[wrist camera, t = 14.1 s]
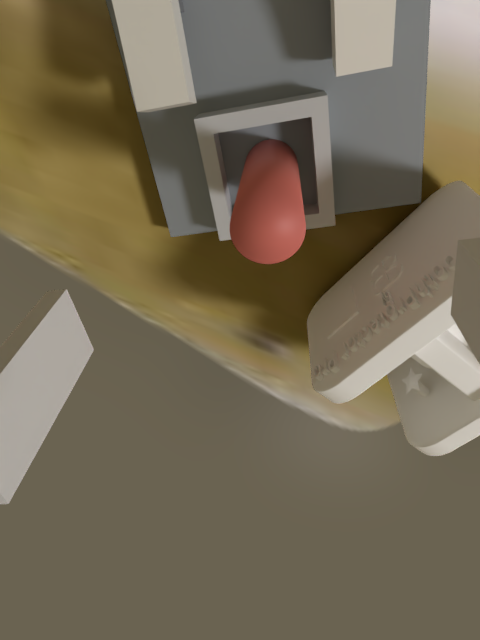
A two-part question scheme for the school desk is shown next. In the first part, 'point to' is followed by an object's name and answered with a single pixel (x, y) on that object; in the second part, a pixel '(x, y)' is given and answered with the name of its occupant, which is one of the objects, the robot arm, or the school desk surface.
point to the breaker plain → (362, 35)
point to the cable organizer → (405, 326)
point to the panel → (288, 112)
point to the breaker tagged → (155, 53)
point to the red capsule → (269, 205)
